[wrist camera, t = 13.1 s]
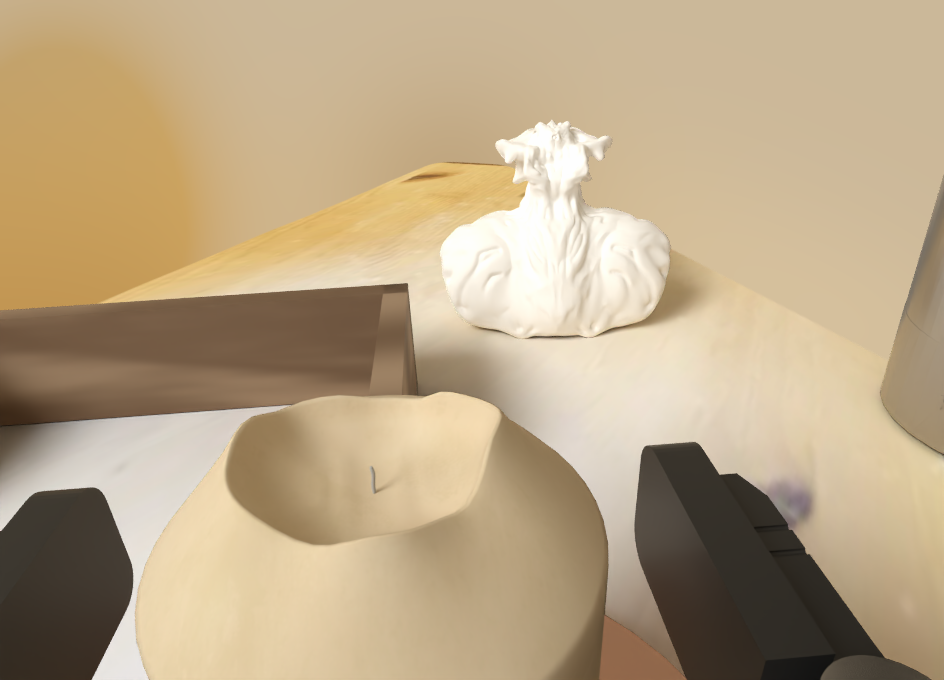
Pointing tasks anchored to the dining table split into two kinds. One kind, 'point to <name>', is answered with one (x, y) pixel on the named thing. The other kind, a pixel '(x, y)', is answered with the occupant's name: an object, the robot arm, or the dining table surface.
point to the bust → (555, 249)
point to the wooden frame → (204, 353)
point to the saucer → (631, 657)
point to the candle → (379, 552)
